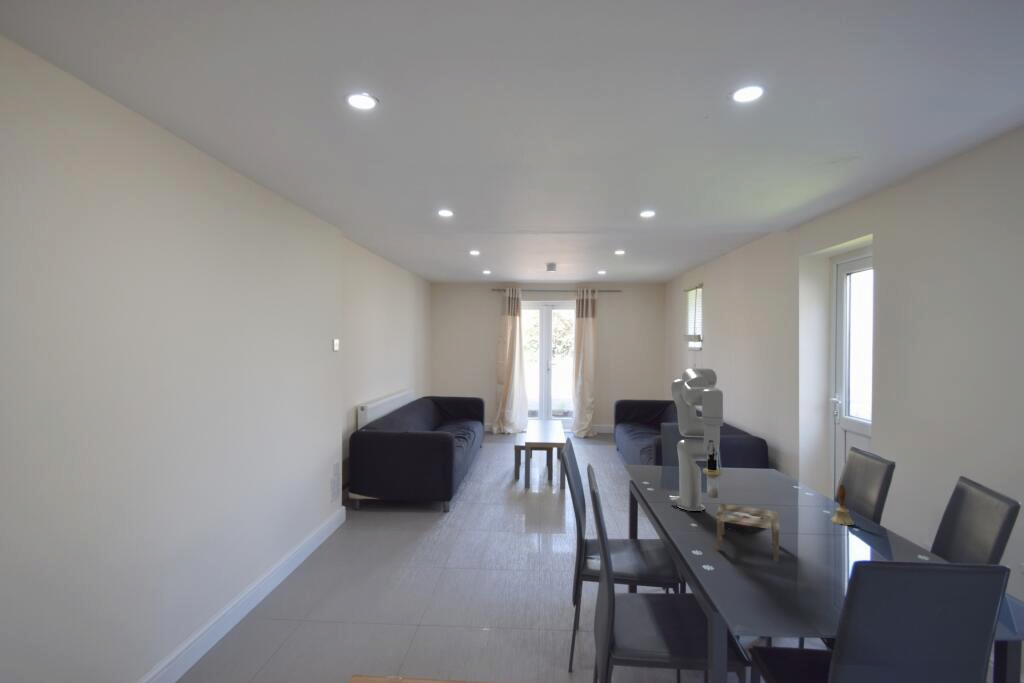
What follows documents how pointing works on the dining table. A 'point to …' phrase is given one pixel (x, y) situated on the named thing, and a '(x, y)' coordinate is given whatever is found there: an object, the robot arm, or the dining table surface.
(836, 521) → the hand bell
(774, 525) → the shelf
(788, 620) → the dining table surface
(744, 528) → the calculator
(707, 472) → the peg
